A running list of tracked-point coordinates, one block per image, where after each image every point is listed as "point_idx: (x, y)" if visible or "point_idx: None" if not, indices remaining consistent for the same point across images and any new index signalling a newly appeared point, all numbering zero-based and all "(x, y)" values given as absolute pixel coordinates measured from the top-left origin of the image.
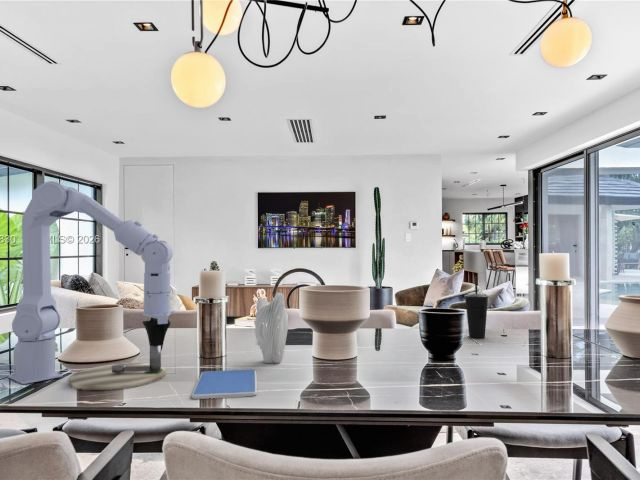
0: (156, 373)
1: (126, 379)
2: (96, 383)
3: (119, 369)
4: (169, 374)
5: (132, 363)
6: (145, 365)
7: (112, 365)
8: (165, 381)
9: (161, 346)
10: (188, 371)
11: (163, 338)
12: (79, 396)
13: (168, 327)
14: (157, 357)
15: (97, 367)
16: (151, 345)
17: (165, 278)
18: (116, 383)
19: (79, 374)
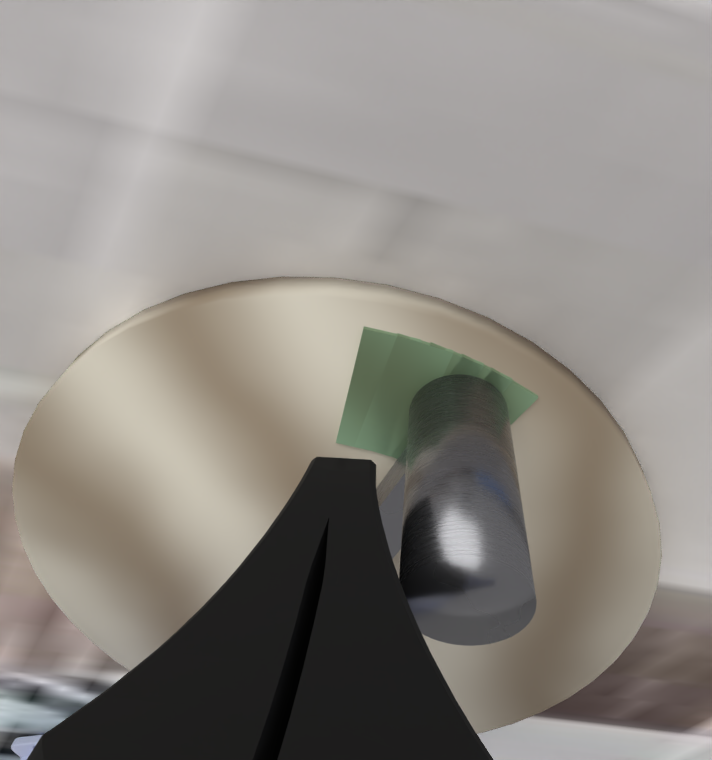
0: (521, 409)
1: (540, 579)
2: (519, 688)
3: None
4: (434, 263)
5: (35, 466)
6: (392, 494)
7: (65, 567)
8: (661, 347)
9: (375, 504)
10: (422, 54)
11: (399, 582)
12: (617, 720)
13: (474, 733)
14: (520, 498)
15: (97, 628)
16: (418, 624)
17: None
18: (603, 631)
19: None
